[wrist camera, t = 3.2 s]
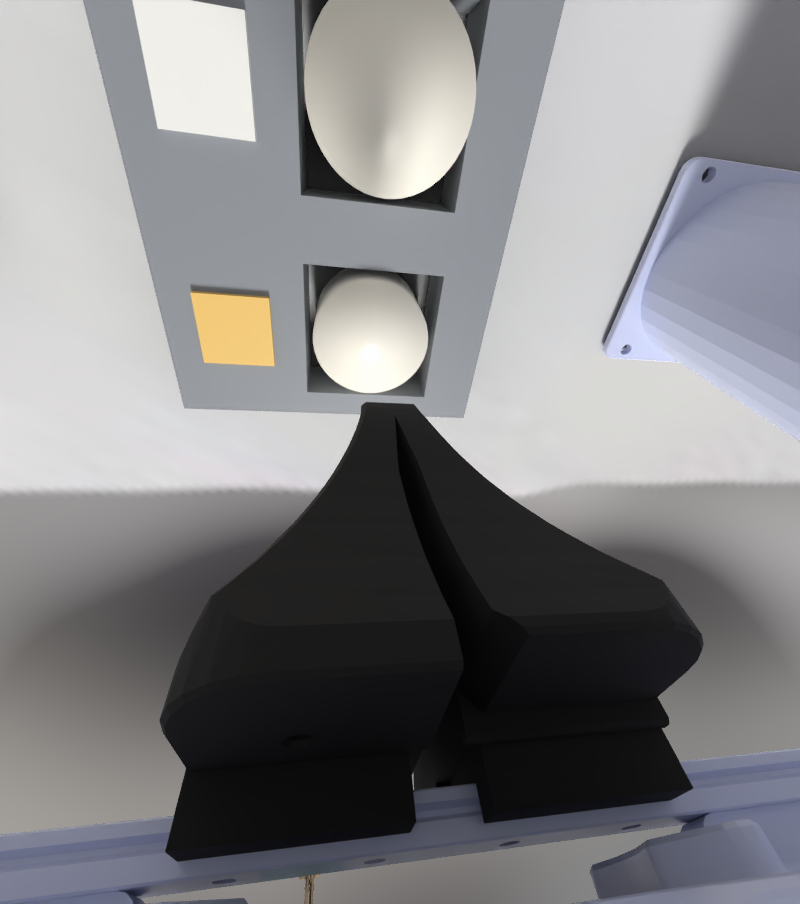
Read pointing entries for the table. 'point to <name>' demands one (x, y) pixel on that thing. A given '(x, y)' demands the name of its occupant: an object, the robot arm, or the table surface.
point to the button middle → (390, 92)
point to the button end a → (369, 330)
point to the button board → (302, 196)
